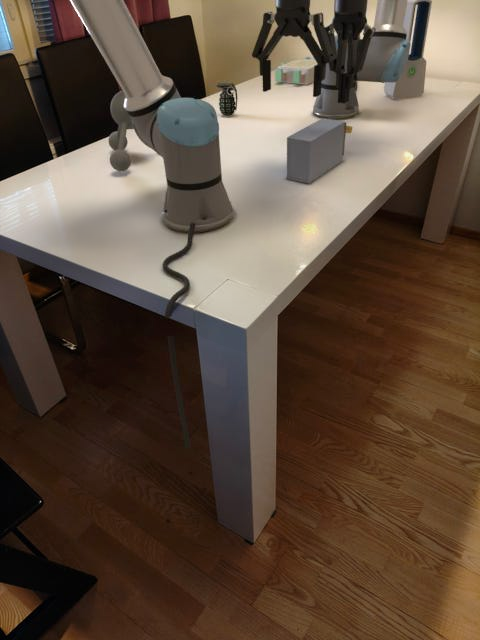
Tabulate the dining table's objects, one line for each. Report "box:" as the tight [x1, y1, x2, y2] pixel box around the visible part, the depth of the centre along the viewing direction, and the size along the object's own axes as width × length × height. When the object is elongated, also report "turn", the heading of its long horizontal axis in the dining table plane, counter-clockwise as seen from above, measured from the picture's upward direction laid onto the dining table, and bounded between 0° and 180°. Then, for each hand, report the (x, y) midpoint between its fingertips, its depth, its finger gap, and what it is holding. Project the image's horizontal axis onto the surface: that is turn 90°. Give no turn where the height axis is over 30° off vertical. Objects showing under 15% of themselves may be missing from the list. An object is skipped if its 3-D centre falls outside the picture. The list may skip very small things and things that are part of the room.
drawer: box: [342, 121, 353, 157], centre depth 126 cm, size 22×5×8 cm, turn 144°
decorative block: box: [274, 56, 317, 86], centre depth 206 cm, size 26×6×20 cm
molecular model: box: [107, 90, 134, 172], centre depth 131 cm, size 24×22×30 cm
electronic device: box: [383, 0, 433, 100], centre depth 169 cm, size 12×8×30 cm, turn 105°
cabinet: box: [286, 118, 346, 185], centre depth 123 cm, size 18×6×10 cm, turn 144°
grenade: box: [215, 82, 238, 117], centre depth 166 cm, size 7×6×10 cm
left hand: (291, 93), depth 117 cm, fingers open, 13 cm apart
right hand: (343, 101), depth 126 cm, fingers closed
